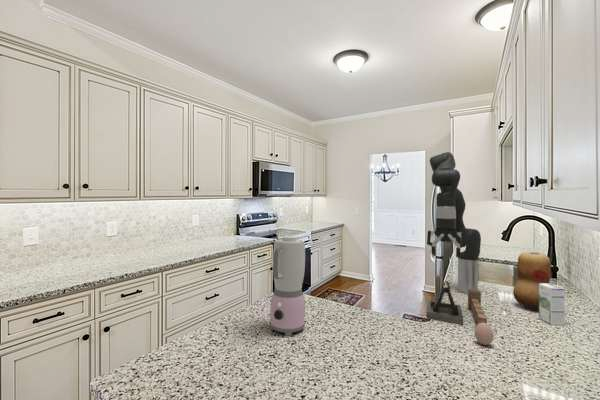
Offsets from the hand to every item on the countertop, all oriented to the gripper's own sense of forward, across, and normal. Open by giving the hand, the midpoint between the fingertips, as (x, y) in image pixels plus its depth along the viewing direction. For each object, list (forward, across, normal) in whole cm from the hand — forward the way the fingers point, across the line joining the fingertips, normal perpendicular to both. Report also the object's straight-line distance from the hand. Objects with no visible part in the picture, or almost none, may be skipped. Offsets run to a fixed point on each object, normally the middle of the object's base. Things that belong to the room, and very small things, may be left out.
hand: (445, 256), depth 119 cm
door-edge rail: (+24, +11, -1) cm, 26 cm away
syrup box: (+24, +38, +10) cm, 46 cm away
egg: (+24, +10, -25) cm, 36 cm away
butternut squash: (+25, +36, +26) cm, 51 cm away
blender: (+22, -52, -46) cm, 72 cm away
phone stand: (+22, 0, -3) cm, 23 cm away
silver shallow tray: (+24, -1, -3) cm, 24 cm away
